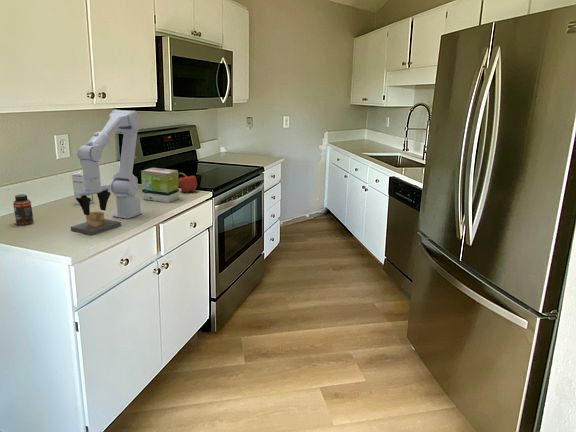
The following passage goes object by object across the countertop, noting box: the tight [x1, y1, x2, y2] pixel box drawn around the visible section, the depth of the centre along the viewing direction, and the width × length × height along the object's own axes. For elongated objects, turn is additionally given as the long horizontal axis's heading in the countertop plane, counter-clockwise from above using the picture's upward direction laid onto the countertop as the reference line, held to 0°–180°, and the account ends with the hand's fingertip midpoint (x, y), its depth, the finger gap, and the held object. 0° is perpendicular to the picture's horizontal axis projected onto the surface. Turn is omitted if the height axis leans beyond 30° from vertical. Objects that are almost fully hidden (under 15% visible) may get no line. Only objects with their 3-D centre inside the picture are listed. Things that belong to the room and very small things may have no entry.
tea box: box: [140, 167, 180, 204], centre depth 209 cm, size 15×10×15 cm
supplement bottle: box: [12, 193, 34, 226], centre depth 166 cm, size 6×6×11 cm
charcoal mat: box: [70, 218, 122, 236], centre depth 164 cm, size 14×11×2 cm
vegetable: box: [178, 172, 198, 193], centre depth 227 cm, size 11×10×10 cm
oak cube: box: [85, 210, 106, 227], centre depth 164 cm, size 4×4×4 cm
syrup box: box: [71, 171, 94, 206], centre depth 196 cm, size 6×6×14 cm
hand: (95, 212), depth 163 cm, fingers open, 7 cm apart
